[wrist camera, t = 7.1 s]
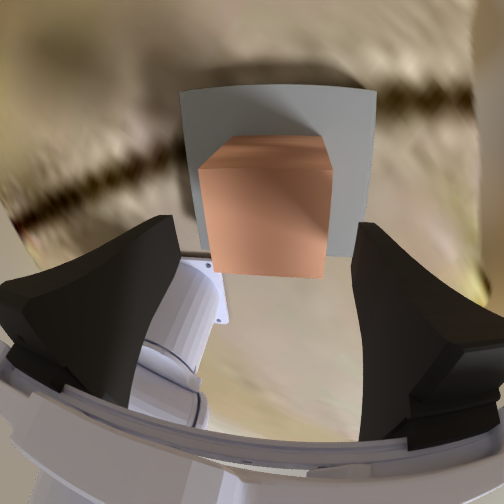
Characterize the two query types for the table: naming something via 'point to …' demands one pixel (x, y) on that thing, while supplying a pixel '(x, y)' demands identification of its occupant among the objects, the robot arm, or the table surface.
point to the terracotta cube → (268, 205)
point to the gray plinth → (289, 123)
